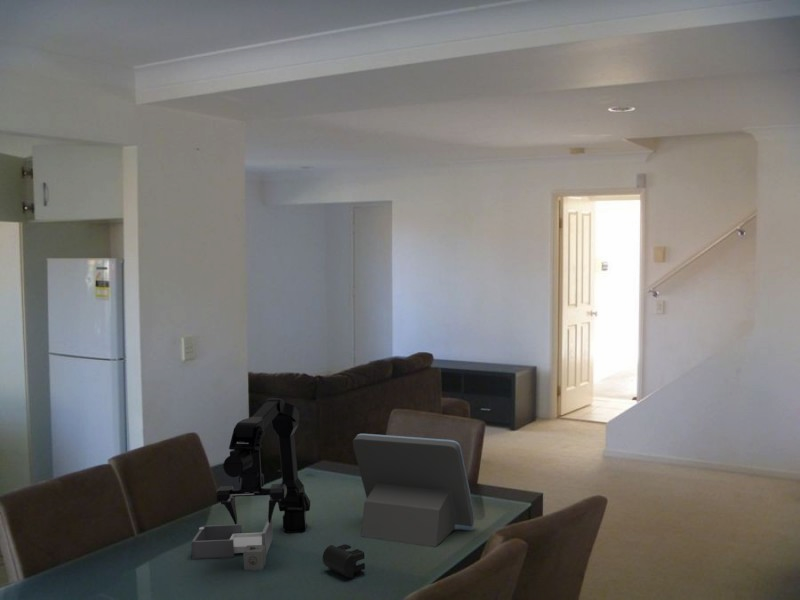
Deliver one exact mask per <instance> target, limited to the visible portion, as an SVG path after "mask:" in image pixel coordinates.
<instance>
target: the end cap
mask: <svg viewBox="0 0 800 600" xmlns="http://www.w3.org/2000/svg"><path fill="white" fill-rule="evenodd" d="M348 549H352V546H351V545H348V544H347V543H343V544H342V545H338V546H335V545H333V544H330V545H328V546H327V547H326V548H325V549H324V551H323V554H322V562H323V564H324V566H325V567H326V568H328V569H329V570H332V571H333V572H336V573H338V574H340V575H342V576H343V577H346V578H348V579H350V580H354V579H356V578H359V577H361V576H364V575H365V572H364V571H365V569H366V564H365V562H362V563H360V564H357V562H359V561H362V560H365V552H364V551H363V550H360V549H359V548H358V549H353V550H348ZM363 570H364V571H363Z"/></svg>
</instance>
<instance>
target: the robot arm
mask: <svg viewBox="0 0 800 600" xmlns="http://www.w3.org/2000/svg"><path fill="white" fill-rule="evenodd" d="M300 415H301V414H300V411H299V410H298V408H297V407H296V406H295V405H293V404H291V403H288V402H286V401H285V400H284V399H281V398H268V399H265V401H264V404H262V406H260V408H258V410H257V411H255V413H254V414H253V415H252V416H251V417H248V418H245V419H241V420H240V421H239V422H237V423H236V425H235V426H234V428H233V432H232V435H231V439H230V443H229V446H228V449H229V450H230V451H229V456H227V457H226V458H225V460H224V461H223V465H222V466H223V471H224V473H225V474H226V475H227V476H229V477H231V478H237V477H238V483H239V484H240V489H238V488H237V489H235V488H234V486H233V485H222V486H219V488H218V489H217V490H216V492H215V502H217V503H219V502H220V505H224V507H225V508H226V509H227V510H226V511H228V513H229V515H230V516H231V519H232V521H233V523H234V524H238V515H237V508H236V507H237V506H236V498H237V497H255V496H256V497H257V496H269V497H270V498H269V500H268V512H267V513H268V515H267V520H268V521H269V523H270V522H271V518H272V519H273V515H274V511H275V507H276V505H277V506H278V509H279V512H284V513H283V515H282V528H283V532H284V533H305V532H306V530H307V528H308V527H307V526H308V523H307V518H306V517H307V515H306V513H307V512H309V511H310V510H311V500H310V498H309V496H308V495H307V493H306V491H305V485H304V484H303V482H302V481H301V480H300V478H299V474H298V464H297V462H298V461H297V452H296V450H297V449H296V440H295V439H296V438H295V432H296V430H297V428H298V426H299V422H300ZM270 423H271V428H272V430H273V431H274V432H275V433H276V435H277V437H278V444H279V445H278V446H279V456H280V457H279V458H280V469H281V478H282V479H281V481H282V482H281V483H272V484H271V486H270V487H264V486H265V474H264V473H262V461H261V459H262V458H261V448H263V444H262V443H263V442H262V441H263V439H264V437H265V435H266V434H265V432H266V431H265V429H266V428H267V427H268V425H270Z"/></svg>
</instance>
